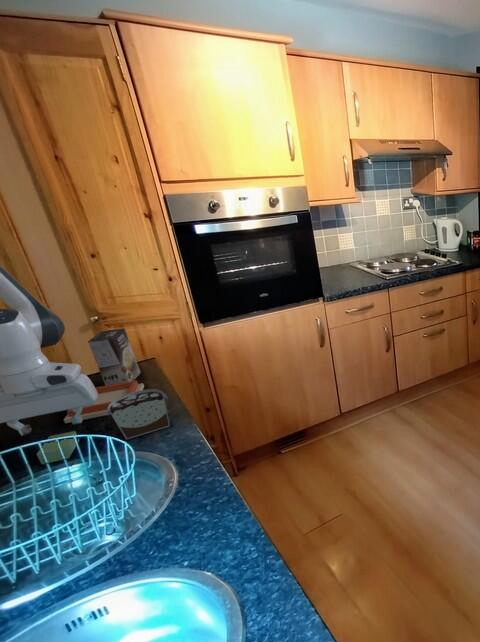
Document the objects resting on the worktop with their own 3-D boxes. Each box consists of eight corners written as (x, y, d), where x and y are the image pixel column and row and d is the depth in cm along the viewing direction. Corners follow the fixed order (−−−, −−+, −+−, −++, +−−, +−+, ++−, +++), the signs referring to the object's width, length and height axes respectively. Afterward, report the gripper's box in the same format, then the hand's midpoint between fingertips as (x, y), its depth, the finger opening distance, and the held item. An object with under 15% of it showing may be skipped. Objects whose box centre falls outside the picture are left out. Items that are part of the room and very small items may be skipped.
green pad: (41, 464, 107) (36, 454, 106) (54, 446, 114) (49, 436, 113) (68, 458, 109) (64, 448, 108) (79, 440, 116) (75, 430, 115)
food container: (174, 414, 127) (163, 383, 123) (176, 424, 123) (165, 392, 119) (118, 430, 120) (104, 398, 116) (118, 441, 115) (104, 408, 111)
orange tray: (65, 423, 123) (60, 414, 122) (82, 397, 135) (79, 389, 134) (133, 409, 129) (129, 400, 128) (144, 386, 141) (141, 378, 140)
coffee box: (131, 385, 142) (113, 339, 135) (106, 389, 140) (86, 342, 133) (141, 372, 150) (124, 328, 143) (117, 375, 148) (100, 330, 141)
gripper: (-44, 395, 97) (-13, 447, 102) (79, 373, 105) (101, 423, 111) (-29, 382, 102) (0, 433, 107) (87, 362, 110) (108, 410, 116)
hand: (53, 427), depth 109 cm, fingers open, 8 cm apart
